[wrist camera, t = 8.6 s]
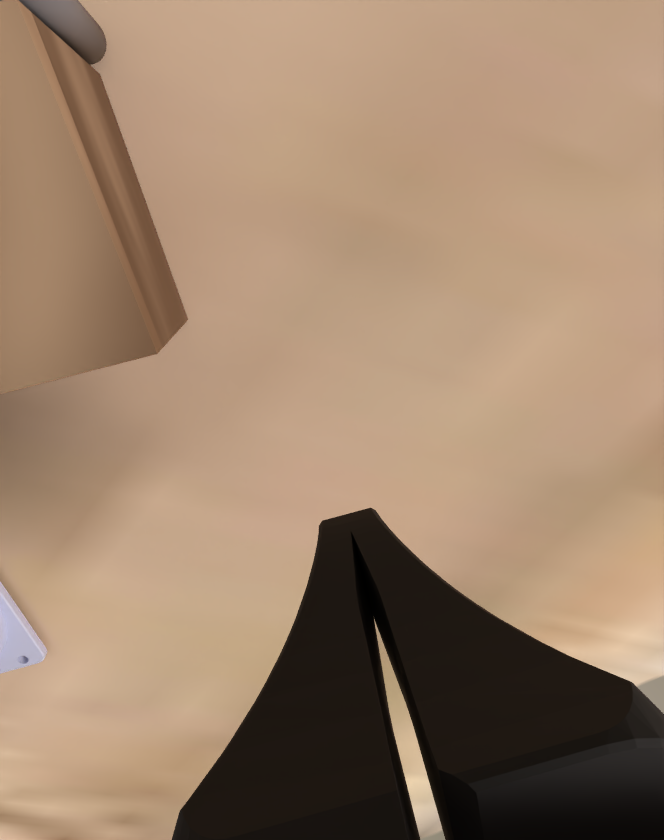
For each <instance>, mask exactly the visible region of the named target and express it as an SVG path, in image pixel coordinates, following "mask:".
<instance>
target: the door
mask: <svg viewBox="0 0 664 840" xmlns="http://www.w3.org/2000/svg"><path fill="white" fill-rule="evenodd" d="M0 1H2V0H0ZM19 1H20V2H21V3H22V4H23V5H24V6H25V7H26V8H27V9H29V10H30V11H31V12H32V13H33V14H34V15H35V16H36V17H37V18H38V19H40V20H41V21H42V22H43V23H44V24H45V25H46V26H47V27H48V28H49V29H51V30H52V31H53V32H54V33H55V34H56V35H57V36H58V37H59V38H60V39H62V40H63V41H64V42H65V43H66V44H67V45H68V46H69V47H70V48H72V49H73V50H74V51H75V52H76V53H77V54H78V55H79V56H80V57H81V58H83V59H84V60H85V61H86V62H87V63H88V64H94V63H97V62H99V61H100V60H101V59H102V58H103V56H104V54H105V51H106V39H105V35H104V33H103V31H102V29H101V27H100V26H99V25H98V24H97V22H96V21H95V20H94V19H93V18H92V16H91V15H90V14H89V13H88V12H87V11H86V9H85V8H84V7H83V6H82V5H81V3H80V2H79V1H78V0H19Z"/></svg>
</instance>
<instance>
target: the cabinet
mask: <svg viewBox="0 0 664 840" xmlns="http://www.w3.org/2000/svg"><path fill="white" fill-rule="evenodd" d="M187 320H188V318H187V316H186V313H185V310H184V307H183V304H182V302H181V299H180V296H179V293H178V290H177V288H176V285H175V282H174V279H173V277H172V274H171V271H170V268H169V265H168V263H167V260H166V257H165V254H164V251H163V249H162V246H161V243H160V240H159V238H158V235H157V232H156V229H155V226H154V224H153V221H152V218H151V215H150V212H149V210H148V207H147V204H146V201H145V199H144V196H143V193H142V190H141V187H140V185H139V182H138V179H137V176H136V173H135V171H134V168H133V165H132V162H131V160H130V157H129V154H128V151H127V148H126V146H125V143H124V140H123V137H122V134H121V132H120V129H119V126H118V123H117V121H116V118H115V115H114V112H113V109H112V107H111V104H110V101H109V98H108V95H107V93H106V90H105V87H104V84H103V82H102V79H101V76H100V74H99V73H98V72H97V71H96V70H95V69H94V68H92V67H91V66H90V65H89V64H88V63H87V62H86V61H85V60H84V59H83V58H81V57H80V56H79V55H78V54H77V53H76V52H75V51H74V50H73V49H72V48H70V47H69V46H68V45H67V44H66V43H65V42H64V41H63V40H62V39H60V38H59V37H58V36H57V35H56V34H55V33H54V32H53V31H52V30H51V29H49V28H48V27H47V26H46V25H45V24H44V23H43V22H42V21H41V20H40V19H38V18H37V17H36V16H35V15H34V14H33V13H32V12H31V11H30V10H29V9H27V8H26V7H25V6H24V5H23V4H22V3H21V2H20V1H19V0H2V1H0V394H3V393H7V392H11V391H15V390H19V389H23V388H27V387H30V386H34V385H38V384H42V383H46V382H50V381H54V380H58V379H61V378H65V377H69V376H73V375H77V374H81V373H85V372H88V371H92V370H96V369H100V368H104V367H108V366H112V365H116V364H119V363H123V362H127V361H131V360H135V359H139V358H143V357H147V356H150V355H154V354H157V353H158V352H159V351H160V350H161V349H162V348H163V347H164V346H165V345H166V343H167V342H168V341H169V340H170V339H171V338H172V337H173V336H174V335H175V334H176V332H177V331H178V330H179V329H180V328H181V327H182V326H183V325H184V324H185V322H186V321H187Z"/></svg>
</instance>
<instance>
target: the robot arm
mask: <svg viewBox="0 0 664 840" xmlns="http://www.w3.org/2000/svg"><path fill="white" fill-rule="evenodd" d="M373 616H374V617H373ZM374 619H375V622H376V624H377V627H378V630H379V632H380V635H381V638H382V641H383V643H384V646H385V649H386V651H387V654H388V657H389V659H390V662H391V665H392V667H393V670H394V673H395V675H396V678H397V681H398V683H399V686H400V689H401V691H402V694H403V697H404V699H405V702H406V705H407V708H408V711H409V714H410V717H411V720H412V723H413V726H414V730H415V733H416V737H417V740H418V744H419V747H420V751H421V754H422V758H423V761H424V765H425V768H426V772H427V775H428V779H429V783H430V786H431V790H432V793H433V797H434V800H435V804H436V807H437V811H438V814H439V818H440V822H441V825H442V829H443V832H444V836H445V839H446V840H664V714H663V713H662V712H661V711H660V710H659V709H658V708H657V707H656V706H655V705H654V704H653V703H652V702H651V701H650V700H649V699H648V698H647V697H646V696H645V695H644V694H643V693H642V692H641V691H640V690H639V689H638V688H637V687H636V686H635V685H634V684H633V683H632V682H630V681H628V680H625V679H623V678H620V677H618V676H616V675H613V674H611V673H608V672H606V671H604V670H601V669H599V668H596V667H594V666H592V665H589V664H587V663H584V662H582V661H580V660H577V659H575V658H572V657H570V656H568V655H566V654H564V653H562V652H560V651H558V650H556V649H554V648H552V647H550V646H548V645H546V644H544V643H542V642H540V641H538V640H536V639H535V638H533V637H531V636H529V635H527V634H526V633H524V632H522V631H520V630H519V629H517V628H515V627H513V626H512V625H510V624H508V623H506V622H504V621H503V620H501V619H499V618H497V617H496V616H494V615H493V614H491V613H490V612H488V611H487V610H485V609H483V608H482V607H480V606H479V605H477V604H476V603H474V602H473V601H471V600H470V599H469V598H467V597H466V596H464V595H463V594H462V593H460V592H459V591H457V590H456V589H455V588H453V587H452V586H451V585H450V584H448V583H447V582H446V581H444V580H443V579H442V578H441V577H440V576H438V575H437V574H436V573H435V572H434V571H432V570H431V569H430V568H429V567H428V566H426V565H425V564H424V563H423V562H422V561H421V560H420V559H419V558H418V557H417V556H416V555H415V554H413V553H412V552H411V551H410V550H409V549H408V548H407V547H406V546H405V545H404V544H403V543H402V542H401V541H400V540H399V539H398V538H397V537H396V535H395V534H394V533H393V532H392V531H391V530H390V529H389V528H388V526H387V525H386V524H385V523H384V521H383V520H382V519H381V518H380V516H379V515H378V513H377V512H376V510H374V509H372V508H368V509H364V510H361V511H357V512H353V513H349V514H346V515H342V516H338V517H335V518H331V519H327V520H324V521H322V522H321V524H320V525H319V535H318V542H317V548H316V552H315V557H314V562H313V565H312V569H311V573H310V577H309V580H308V584H307V587H306V590H305V593H304V596H303V599H302V602H301V605H300V608H299V610H298V613H297V616H296V619H295V621H294V624H293V626H292V629H291V631H290V633H289V636H288V638H287V640H286V643H285V645H284V647H283V649H282V651H281V654H280V656H279V658H278V660H277V662H276V664H275V666H274V667H273V669H272V671H271V673H270V675H269V677H268V679H267V681H266V683H265V685H264V687H263V688H262V690H261V692H260V694H259V696H258V697H257V699H256V701H255V703H254V704H253V706H252V707H251V709H250V711H249V712H248V714H247V715H246V717H245V719H244V720H243V722H242V723H241V725H240V727H239V728H238V730H237V731H236V733H235V735H234V736H233V738H232V739H231V741H230V743H229V744H228V746H227V747H226V748H225V750H224V751H223V753H222V754H221V756H220V757H219V759H218V760H217V761H216V763H215V764H214V765H213V767H212V768H211V770H210V771H209V772H208V774H207V775H206V776H205V778H204V779H203V781H202V782H201V783H200V785H199V786H198V787H197V789H196V790H195V792H194V793H193V794H192V796H191V797H190V798H189V800H188V801H187V802H186V804H185V805H184V806H183V808H182V809H181V810H180V812H179V816H178V819H177V823H176V826H175V830H174V834H173V837H172V840H420V837H419V833H418V829H417V825H416V821H415V817H414V813H413V809H412V805H411V801H410V797H409V793H408V789H407V785H406V781H405V777H404V773H403V769H402V765H401V761H400V757H399V752H398V748H397V744H396V740H395V736H394V732H393V728H392V723H391V718H390V713H389V708H388V702H387V696H386V690H385V684H384V677H383V671H382V665H381V659H380V653H379V647H378V641H377V635H376V629H375V623H374ZM46 654H47V649H46V647H45V646H44V644H43V643H42V641H41V640H40V638H39V637H38V636H37V634H36V633H35V631H34V630H33V628H32V627H31V625H30V624H29V622H28V621H27V620H26V618H25V617H24V615H23V614H22V612H21V611H20V609H19V608H18V606H17V605H16V603H15V602H14V601H13V599H12V598H11V596H10V595H9V593H8V592H7V590H6V589H5V587H4V586H3V585H2V583H1V582H0V673H4V672H7V671H11V670H15V669H18V668H22V667H26V666H29V665H33V664H37V663H40V662H42V661H43V660H44V658H45V656H46ZM25 656H26V657H25Z"/></svg>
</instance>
